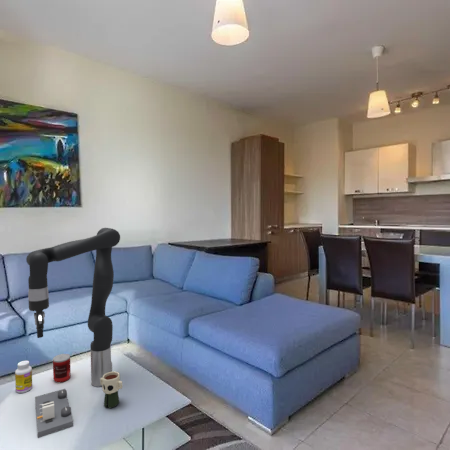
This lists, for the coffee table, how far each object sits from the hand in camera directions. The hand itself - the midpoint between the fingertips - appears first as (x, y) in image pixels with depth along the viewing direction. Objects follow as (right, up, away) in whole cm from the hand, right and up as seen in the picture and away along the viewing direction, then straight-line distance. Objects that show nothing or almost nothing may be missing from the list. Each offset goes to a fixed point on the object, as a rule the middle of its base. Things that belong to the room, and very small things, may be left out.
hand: (40, 337), depth 140 cm
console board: (+8, -30, -5) cm, 31 cm away
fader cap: (+10, -28, -12) cm, 32 cm away
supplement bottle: (-14, -29, +11) cm, 34 cm away
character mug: (+31, -30, 0) cm, 43 cm away
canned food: (-1, -28, +21) cm, 35 cm away
